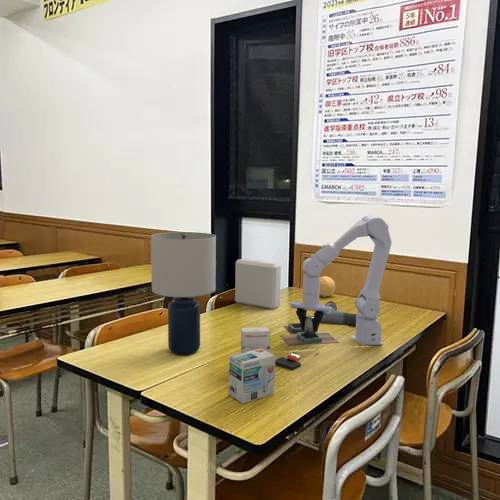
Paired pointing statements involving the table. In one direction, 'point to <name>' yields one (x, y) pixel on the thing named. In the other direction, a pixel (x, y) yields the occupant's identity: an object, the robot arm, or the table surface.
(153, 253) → the lamp
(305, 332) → the peg
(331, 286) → the stress ball
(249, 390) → the light bulb box
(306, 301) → the robot arm
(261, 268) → the bevelled white case
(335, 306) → the power drill
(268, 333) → the ink box
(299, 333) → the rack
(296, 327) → the socket block
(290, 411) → the table surface
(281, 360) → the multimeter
